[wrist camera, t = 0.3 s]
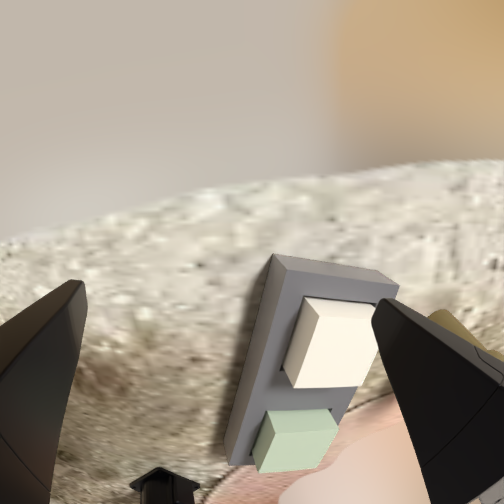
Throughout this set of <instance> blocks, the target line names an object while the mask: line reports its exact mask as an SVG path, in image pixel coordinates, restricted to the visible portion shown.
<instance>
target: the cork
mask: <svg viewBox="0 0 504 504" xmlns="http://www.w3.org/2000/svg"><path fill="white" fill-rule="evenodd" d="M428 318H429V319H430V320H432V321H434V322H435V323H437V324H439V325H441V326H442V327H444V328H446V329H448V330H449V331H451V332H453V333H454V334H456V335H458V336H460V337H461V338H463V339H465V340H466V341H468V342H470V343H471V344H473V346H474V345H475V346H477V347H478V348H480V349H482V350H483V351H485V352H487V353H489V354H490V355H492V356H494V357H496V358H498V359H499V360H501V361H503V362H504V355H502V354H501V353H499V352H498V351H495V350H487V349H486V348H485V347H484V346H483V345H482V344H481V343H480V342H479V341H478V340H477V339H476V338H475V337H474V336H473V335H472V334H471V333H470V332H469V331H468V330H467V329H466V328H465V327H464V326H463V325H462V324H461V323H460V322H459V321H458V320H457V319H456V318H455V317H454V316H453V315H452V314H451V313H450V312H449V311H447V310H438V311H436V312H434V313H433V314H431V315H430V316H429V317H428Z"/></svg>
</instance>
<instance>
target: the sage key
mask: <svg viewBox="0 0 504 504" xmlns="http://www.w3.org/2000/svg"><path fill="white" fill-rule="evenodd" d="M338 430H339V427H338V425H337V424H336V422H335V420H334V419H333V417H332V415H331V414H330V412H329V410H328V409H313V410H286V411H265V414H264V416H263V419H262V422H261V425H260V427H259V430H258V433H257V435H256V438H255V441H254V443H253V446H252V449H251V451H252V454H253V458H254V461H255V464H256V468H257V471H258V473H271V472H283V471H294V470H303V469H311V468H317V466H318V464H319V463H320V461H321V460H322V458H323V456H324V455H325V453H326V451H327V449H328V448H329V446H330V444H331V443H332V441H333V439H334V437H335V436H336V434H337V432H338Z"/></svg>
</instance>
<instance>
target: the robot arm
mask: <svg viewBox="0 0 504 504" xmlns="http://www.w3.org/2000/svg"><path fill="white" fill-rule="evenodd" d="M87 310H88V305H87V298H86V290H85V284H84V282H83V281H81V280H72V279H71V280H68V281H67V282H65V283H64V284H62V285H61V286H59V287H57V288H56V289H54V290H53V291H51V292H50V293H48V294H47V295H45V296H44V297H42V298H41V299H39V300H38V301H36V302H35V303H33V304H32V305H30V306H29V307H27V308H26V309H24V310H23V311H21V312H20V313H18V314H17V315H16V316H14V317H13V318H11V319H10V320H8V321H7V322H5V323H4V324H3V325H1V326H0V504H49V502H50V493H49V492H51V485H52V478H53V471H54V465H55V459H56V453H57V448H58V443H59V437H60V432H61V428H62V423H63V418H64V414H65V410H66V405H67V401H68V397H69V393H70V389H71V385H72V382H73V378H74V374H75V370H76V367H77V363H78V359H79V354H80V349H81V343H82V337H83V332H84V327H85V321H86V316H87ZM371 326H372V329H373V332H374V336H375V339H376V342H377V346H378V349H379V352H380V356H381V359H382V362H383V365H384V368H385V370H386V373H387V375H388V378H389V380H390V383H391V386H392V388H393V391H394V394H395V396H396V399H397V402H398V404H399V407H400V410H401V412H402V415H403V418H404V421H405V423H406V426H407V429H408V432H409V435H410V438H411V441H412V444H413V447H414V449H415V453H416V455H417V459H418V462H419V465H420V468H421V472H422V475H423V478H424V482H425V485H426V488H427V492H428V495H429V498H430V502H431V504H469V503H471V502H472V501H473V500H475V499H477V498H479V500H480V502H481V504H504V362H503V361H501V360H499V359H498V358H496V357H494V356H492V355H490V354H489V353H487V352H485V351H483V350H482V349H480V348H478V347H477V346H475V345H474V346H473V344H471V343H470V342H468V341H466V340H465V339H463V338H461V337H460V336H458V335H456V334H454V333H453V332H451V331H449V330H448V329H446V328H444V327H442V326H441V325H439V324H437V323H435V322H434V321H432V320H430V319H429V318H427V317H425V316H423V315H422V314H420V313H418V312H416V311H415V310H413V309H411V308H409V307H407V306H406V305H404V304H402V303H400V302H399V301H397V300H395V299H393V298H382V299H380V300H379V302H378V304H377V307H376V309H375V311H374V313H373V315H372V318H371ZM130 488H132V489H134V490H136V491H138V492H140V504H195V502H194V494H193V492H194V491H196V490H197V489H199V488H200V484H199V483H196V482H194V481H191V480H189V479H186V478H184V477H181V476H179V475H177V474H174V473H172V472H170V471H168V470H165V469H163V468H156V469H155V470H153V471H152V472H150V473H148V474H146V475H145V476H143V477H141V478H140V479H138V480H136V481H135V482H133V483H131V484H130Z"/></svg>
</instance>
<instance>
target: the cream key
mask: <svg viewBox="0 0 504 504" xmlns="http://www.w3.org/2000/svg"><path fill="white" fill-rule="evenodd" d="M375 309H376V308H375V307H373V306H372V305H371V304H370V303H368V302H358V301H348V300H339V299H330V298H321V297H312V296H303V298H302V301H301V305H300V308H299V311H298V314H297V318H296V321H295V324H294V327H293V330H292V334H291V337H290V340H289V343H288V346H287V349H286V352H285V355H284V358H283V361H282V366H283V368H284V370H285V372H286V374H287V376H288V378H289V380H290V382H291V384H292V386H293V388H330V387H352V386H362V384H363V381H364V379H365V377H366V375H367V373H368V371H369V369H370V366H371V364H372V362H373V360H374V358H375V355H376V353H377V351H378V346H377V342H376V339H375V336H374V332H373V329H372V326H371V318H372V315H373V313H374V311H375Z"/></svg>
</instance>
